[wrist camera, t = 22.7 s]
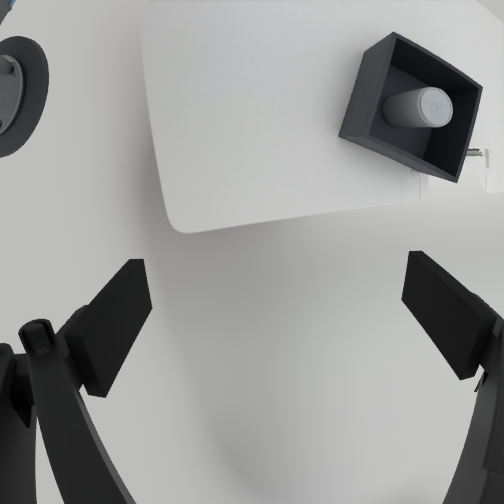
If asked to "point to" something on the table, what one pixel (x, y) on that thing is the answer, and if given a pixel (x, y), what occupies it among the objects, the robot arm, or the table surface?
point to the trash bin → (403, 80)
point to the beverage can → (418, 108)
